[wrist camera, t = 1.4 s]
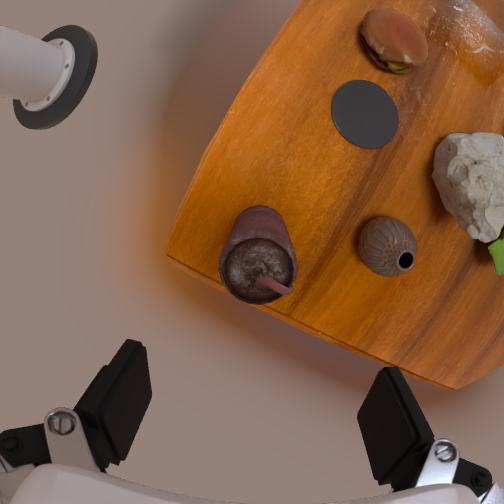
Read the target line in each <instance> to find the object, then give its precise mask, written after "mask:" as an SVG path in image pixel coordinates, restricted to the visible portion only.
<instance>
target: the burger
mask: <svg viewBox="0 0 504 504" xmlns="http://www.w3.org/2000/svg"><path fill="white" fill-rule="evenodd" d="M360 36H361V39H362V41H363V42H362V43H363V44H364V48H365V50H366V52H368V53H369V54H370V56H371V58H372V59H373V60H375V63H376V64H377V65H379V66H380V67H382V68H383V67H384V68H385V69H387V70H391V71H392V72H394V73H397V74H405V73H408V72H411V70H413V69H414V68H417V67H419V66H421V65H422V64H423V63H424V61H425V60H426V58H427V55H428V46H427V41H426V38H425V36H424V33H423V32H422V30H421V29H420V27H419V26H418V25H417V24H416V23H415V22H414V21H413V20H412V19H410V18H409V17H407V16H406V15H404V14H403V13H400V12H398V11H395V10H392V9H387V8H377V9H373V10H371V11H369V12H368V13H367V14H366V15H365V17H364V20H363V25H362V28H361V30H360Z"/></svg>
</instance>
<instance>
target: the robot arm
mask: <svg viewBox="0 0 504 504" xmlns="http://www.w3.org/2000/svg"><path fill="white" fill-rule="evenodd" d="M74 64H75V50H74V47H73V45H72V44H71V43H70V42H69V41H67V40H65V39H60V38H59V39H54V40H51V41H49V42H44V41H42V40H39V39H37V38H34V37H32V36H29V35H27V34H24V33H21V32H18V31H15V30H12V29H10V28H7V27H4V26H1V25H0V98H9V99H17V100H20V101H21V104H22V106H23V107H24V108H25V109H26V110H29V111H36V112H37V111H41V110H43V109H45V108H47V107H48V106H50V105H51V104H52V103H53V102H54V101H55V100H56V99H57V98H58V97H59V96H60V94H61V93H62V92H63V90H64V89H65V87H66V85H67V83H68V81H69V79H70V77H71V74H72V72H73V68H74ZM151 398H152V389H151V382H150V376H149V368H148V360H147V352H146V347H144V346H142V343H141V342H139V341H135V340H131V339H127V340H126V341H125V342H124V343H123V345H122V346H121V348H120V349H119V350H118V352H117V354H116V355H115V356H114V358H113V359H112V361H111V362H110V363H109V365H105V366H103V367H102V368H101V370H100V371H99V372H98V374H97V375H96V377H95V378H94V380H93V381H92V382H91V384H90V385H89V387H88V388H87V390H86V391H85V393H84V394H83V396H82V397H81V398H80V400H79V401H78V403H77V405H76V406H75V407H74V409H73V410H71V409H69V408H65V407H62V408H61V407H60V408H55V409H53V410H51V411H50V412H48V414H47V415H46V416H45V419H44V423H42V424H38V425H33V426H27V427H21V428H15V429H9V430H5V431H3V432H2V433H1V434H0V504H242V503H231V502H222V501H215V500H208V499H202V498H195V497H190V496H185V495H180V494H176V493H171V492H167V491H163V490H159V489H155V488H151V487H148V486H144V485H140V484H137V483H134V482H130V481H127V480H124V479H121V478H118V477H114V476H111V475H109V474H108V472H107V470H106V468H108V466H109V464H110V463H112V464H115V465H119V463H120V461H121V460H122V461H124V460H125V459H126V457H127V455H128V452H129V450H130V447H131V445H132V443H133V440H134V438H135V436H136V433H137V431H138V429H139V426H140V423H141V421H142V419H143V417H144V415H145V412H146V410H147V408H148V405H149V403H150V401H151ZM357 420H358V423H359V426H360V430H361V433H362V437H363V440H364V444H365V447H366V451H367V455H368V458H369V462H370V466H371V469H372V473H373V477H374V479H375V480H377V481H378V484H379V486H380V485H385V484H391V486H392V488H391V490H390V491H389V493H388V494H385V495H380V496H375V497H369V498H364V499H358V500H351V501H343V502H334V503H325V504H504V489H503V488H502V487H501V486H500V485H498V484H497V483H496V482H495V483H494V484H492V475H491V473H490V472H489V471H488V470H487V469H486V468H483V467H481V466H479V465H476V464H474V463H471V462H469V461H466V460H464V459H462V458H460V451H459V448H458V446H457V445H456V444H455V443H454V442H453V441H451V440H450V439H446V438H441V439H438V440H436V441H435V440H434V434H433V432H432V430H431V428H430V426H429V424H428V422H427V421H426V418H425V417H424V414H423V412H422V410H421V409H420V407H419V405H418V403H417V401H416V399H415V397H414V395H413V393H412V391H411V390H410V388H409V386H408V384H407V382H406V381H405V379H404V377H403V375H402V373H401V371H400V370H399V368H398V367H396V366H395V367H384V368H383V369H382V370H380V371H379V372H378V374H377V377H376V379H375V380H374V383H373V384H372V386H371V389H370V390H369V393H368V394H367V397H366V398H365V400H364V402H363V404H362V406H361V408H360V410H359V411H358V414H357Z"/></svg>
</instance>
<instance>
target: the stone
mask: <svg viewBox="0 0 504 504" xmlns="http://www.w3.org/2000/svg"><path fill="white" fill-rule="evenodd" d="M433 167H434V171H433V172H432V175H431V177H432V179H433V180H434V182H435V185H436V188H437V190H438V192H439V193H440V198H441V200H442V203H443V204H444V207H445V209H446V211H448V212H449V213H451V214H452V215H453V216H454V219H455V220H457V222H458V224H459V226H460V228H461V229H465V230H466V232H467V233H468V235H469V236H470V237H471V238H474V239H479V240H480V241H482V242H484V243H486V242H490V241H491V240H495V239H497V238H498V236H499V235H500V232H501V228H502V227H503V225H504V137H503V136H502V135H500V134H496V133H484V132H475V133H473V134H467V133H466V134H464V133H453V134H450V135H448V136H446V137H445V138H444V139H443V141H442V142H441V143H440V144H439V146H438V147H437V148H436V150H435V158H434V160H433Z"/></svg>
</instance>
